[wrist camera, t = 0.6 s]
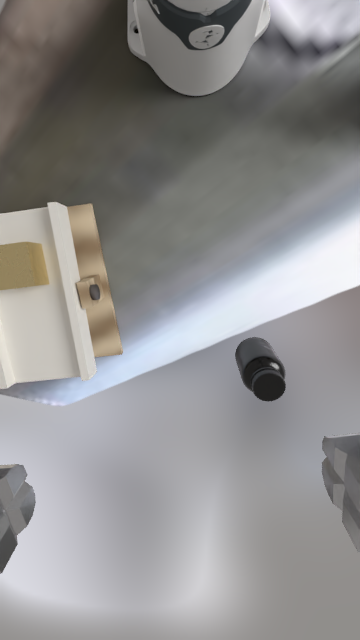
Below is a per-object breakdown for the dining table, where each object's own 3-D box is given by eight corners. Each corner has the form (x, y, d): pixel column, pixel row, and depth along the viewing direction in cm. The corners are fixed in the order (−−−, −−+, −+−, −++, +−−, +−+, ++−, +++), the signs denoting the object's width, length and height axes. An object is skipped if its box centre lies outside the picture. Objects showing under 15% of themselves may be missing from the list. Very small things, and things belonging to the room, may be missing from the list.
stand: (-26, 221, 47) (-64, 220, 40) (92, 204, 46) (74, 200, 39) (21, 362, 55) (-4, 383, 48) (123, 351, 54) (112, 371, 47)
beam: (-24, 220, 44) (-43, 216, 41) (66, 207, 43) (55, 201, 40) (14, 380, 49) (0, 388, 45) (96, 371, 48) (89, 379, 44)
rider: (3, 248, 43) (-17, 247, 39) (41, 243, 43) (25, 241, 39) (12, 288, 44) (-6, 291, 40) (49, 284, 44) (35, 285, 40)
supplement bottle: (273, 336, 52) (296, 367, 41) (269, 369, 54) (291, 408, 43) (235, 335, 52) (247, 366, 41) (233, 369, 55) (244, 407, 43)
